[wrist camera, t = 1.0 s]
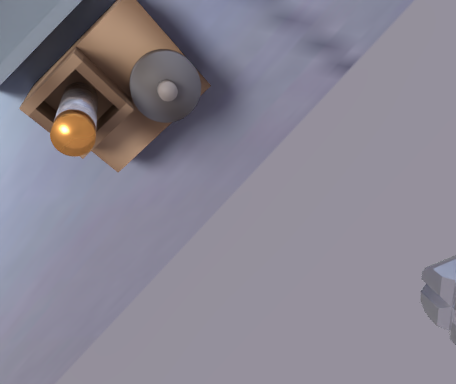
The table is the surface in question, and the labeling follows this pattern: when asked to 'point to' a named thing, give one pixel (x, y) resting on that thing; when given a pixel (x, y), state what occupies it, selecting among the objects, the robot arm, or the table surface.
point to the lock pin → (75, 120)
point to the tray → (27, 28)
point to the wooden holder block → (122, 82)
